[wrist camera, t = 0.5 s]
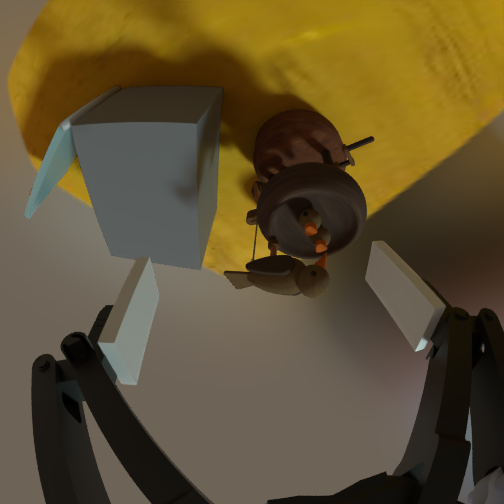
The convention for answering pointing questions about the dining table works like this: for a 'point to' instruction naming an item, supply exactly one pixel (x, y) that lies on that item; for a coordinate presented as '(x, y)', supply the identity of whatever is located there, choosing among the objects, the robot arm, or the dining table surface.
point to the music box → (301, 203)
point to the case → (153, 170)
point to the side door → (60, 154)
